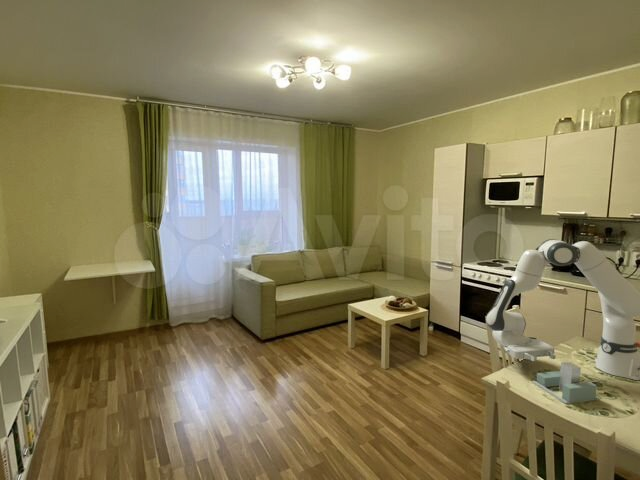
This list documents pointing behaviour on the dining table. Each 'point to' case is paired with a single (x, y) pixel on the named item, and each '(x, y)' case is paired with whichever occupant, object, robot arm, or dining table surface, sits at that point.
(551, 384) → the block
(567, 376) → the steel block
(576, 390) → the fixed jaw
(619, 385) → the dining table surface
